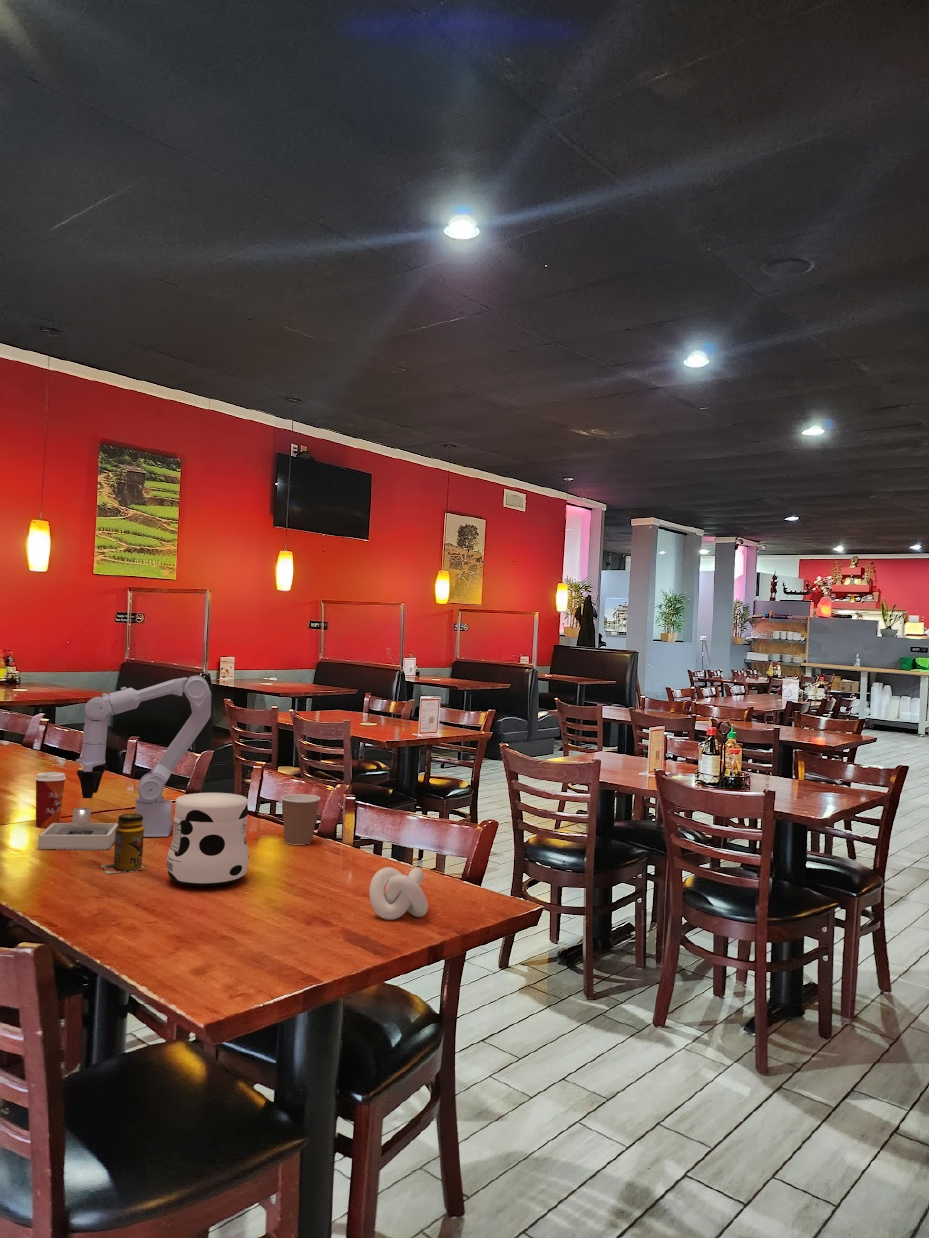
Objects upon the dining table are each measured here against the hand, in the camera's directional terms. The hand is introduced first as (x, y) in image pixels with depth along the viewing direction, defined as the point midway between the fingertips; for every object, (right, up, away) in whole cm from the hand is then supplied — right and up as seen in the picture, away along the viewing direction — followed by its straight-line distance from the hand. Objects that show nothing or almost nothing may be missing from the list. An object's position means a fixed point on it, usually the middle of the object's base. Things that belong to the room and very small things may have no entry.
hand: (90, 795), depth 222 cm
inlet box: (+1, -10, -9) cm, 13 cm away
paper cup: (-15, -10, +8) cm, 20 cm away
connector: (+1, -10, -9) cm, 13 cm away
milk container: (+41, -12, -35) cm, 55 cm away
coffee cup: (+54, -14, +4) cm, 55 cm away
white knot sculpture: (+84, -14, -52) cm, 100 cm away
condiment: (+20, -11, -29) cm, 37 cm away
